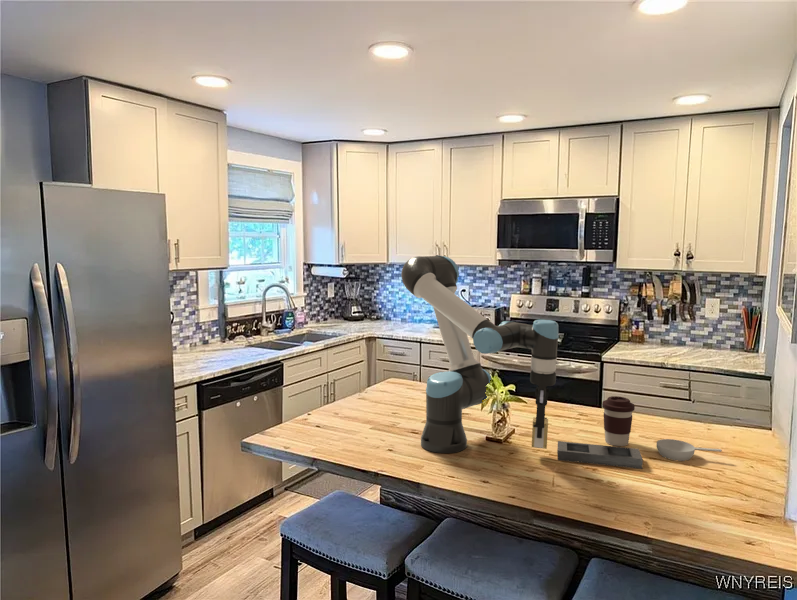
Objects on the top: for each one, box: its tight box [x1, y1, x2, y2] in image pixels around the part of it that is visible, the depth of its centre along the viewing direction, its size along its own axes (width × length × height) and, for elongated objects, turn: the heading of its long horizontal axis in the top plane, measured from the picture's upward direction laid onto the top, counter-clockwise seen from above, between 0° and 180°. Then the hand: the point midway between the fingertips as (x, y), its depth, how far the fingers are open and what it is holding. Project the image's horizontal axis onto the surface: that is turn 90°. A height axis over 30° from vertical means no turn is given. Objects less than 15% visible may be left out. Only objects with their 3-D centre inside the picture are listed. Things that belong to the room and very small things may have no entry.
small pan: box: [656, 438, 722, 462], centre depth 171 cm, size 11×18×4 cm, turn 68°
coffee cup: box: [601, 395, 636, 447], centre depth 182 cm, size 10×10×15 cm
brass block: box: [531, 417, 549, 450], centre depth 170 cm, size 4×4×8 cm
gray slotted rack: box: [556, 440, 644, 470], centre depth 169 cm, size 24×8×3 cm, turn 74°
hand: (538, 443), depth 171 cm, fingers closed on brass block, 4 cm apart
